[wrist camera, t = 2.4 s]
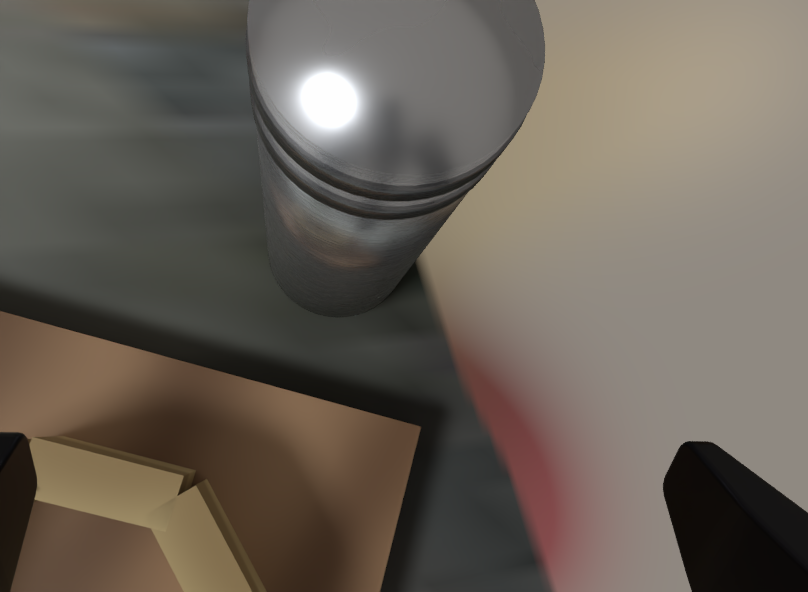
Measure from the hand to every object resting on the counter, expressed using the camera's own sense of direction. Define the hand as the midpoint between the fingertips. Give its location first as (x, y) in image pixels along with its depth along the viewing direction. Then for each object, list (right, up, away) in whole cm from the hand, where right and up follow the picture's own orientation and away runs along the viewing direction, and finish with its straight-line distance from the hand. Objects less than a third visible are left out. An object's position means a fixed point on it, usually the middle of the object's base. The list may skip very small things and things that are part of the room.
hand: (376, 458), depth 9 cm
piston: (-2, +4, +14) cm, 14 cm away
